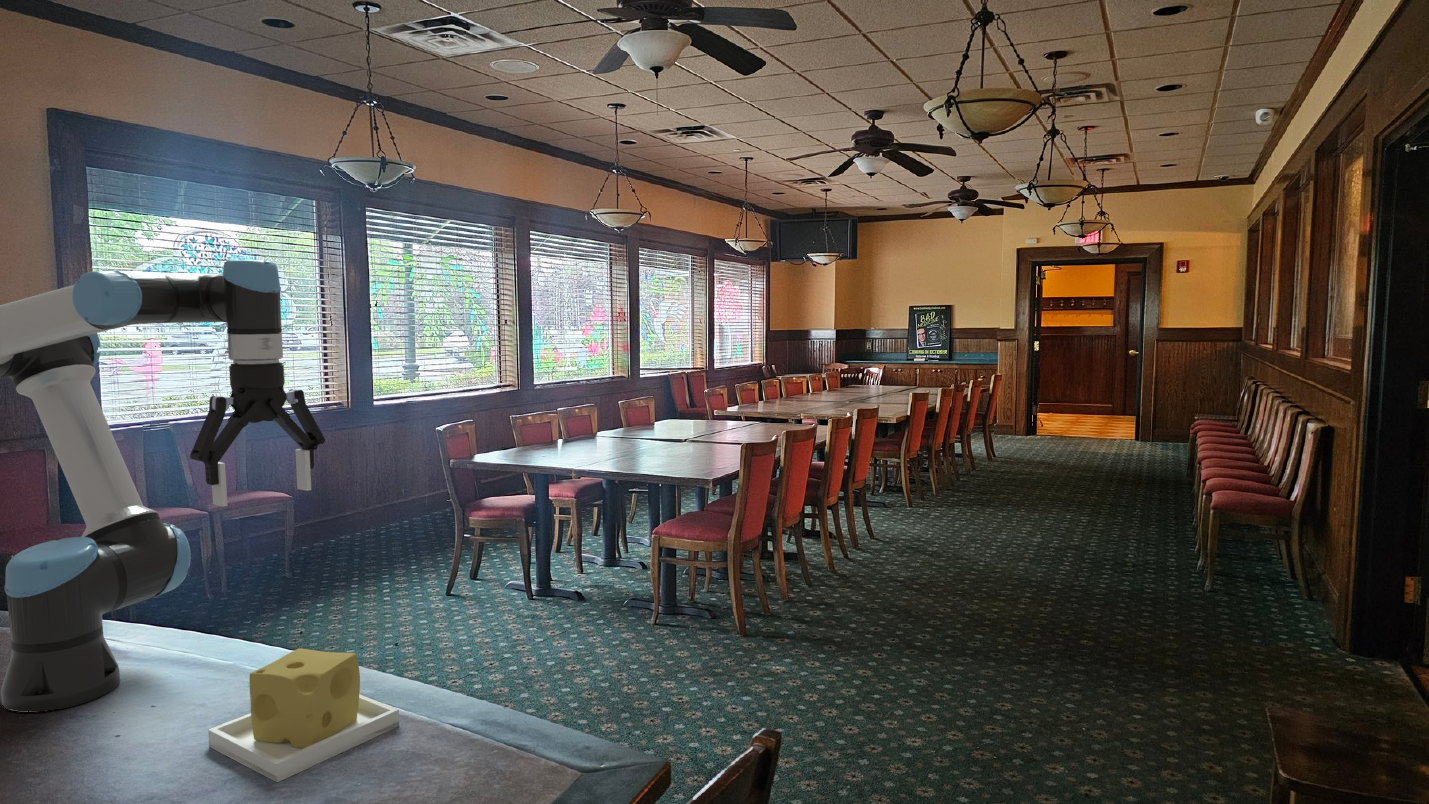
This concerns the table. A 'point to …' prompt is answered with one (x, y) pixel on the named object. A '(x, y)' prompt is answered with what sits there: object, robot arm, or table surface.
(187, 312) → the robot arm
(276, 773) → the serving tray
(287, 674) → the cheese
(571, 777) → the table surface
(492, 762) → the table surface
